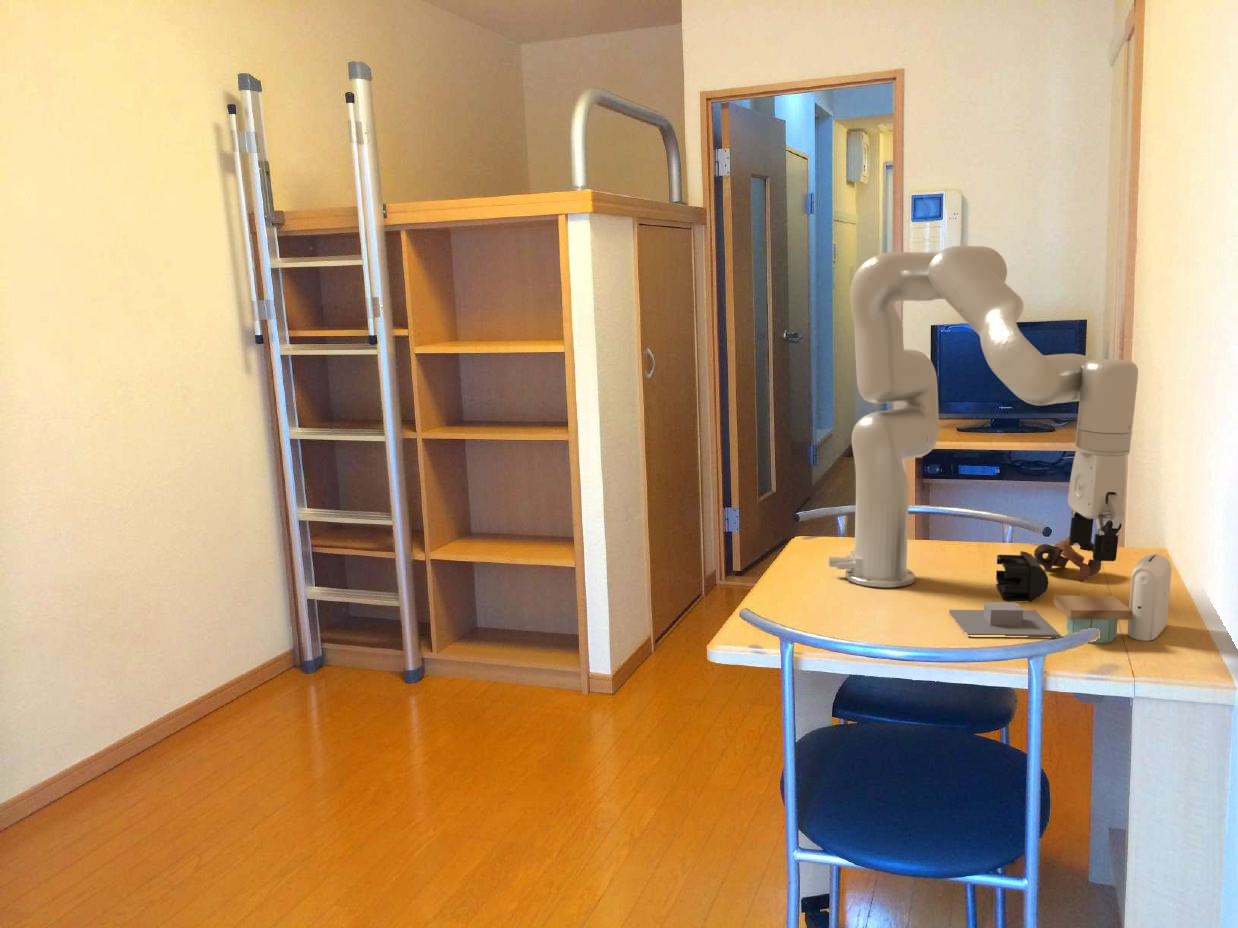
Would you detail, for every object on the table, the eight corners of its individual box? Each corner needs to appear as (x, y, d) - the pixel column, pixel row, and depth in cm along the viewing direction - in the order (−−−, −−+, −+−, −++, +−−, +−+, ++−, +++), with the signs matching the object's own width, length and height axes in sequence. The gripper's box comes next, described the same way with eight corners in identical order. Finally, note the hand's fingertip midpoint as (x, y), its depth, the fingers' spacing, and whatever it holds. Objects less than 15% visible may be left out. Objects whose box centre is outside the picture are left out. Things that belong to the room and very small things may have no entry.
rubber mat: (967, 637, 159) (968, 617, 158) (949, 612, 170) (949, 594, 170) (1060, 638, 157) (1061, 618, 157) (1035, 613, 169) (1036, 595, 169)
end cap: (1047, 604, 174) (1049, 566, 173) (1004, 602, 176) (1006, 564, 175) (1036, 587, 184) (1038, 551, 183) (995, 585, 186) (997, 549, 184)
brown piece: (1075, 567, 198) (1097, 536, 193) (1092, 601, 190) (1116, 570, 185) (1018, 555, 196) (1039, 523, 191) (1033, 588, 188) (1056, 556, 184)
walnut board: (1070, 618, 154) (1071, 610, 154) (1053, 603, 161) (1054, 595, 161) (1132, 619, 153) (1132, 610, 153) (1112, 604, 161) (1113, 595, 160)
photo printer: (1154, 643, 155) (1160, 565, 152) (1123, 637, 157) (1129, 560, 155) (1170, 625, 162) (1176, 550, 160) (1140, 620, 165) (1146, 546, 163)
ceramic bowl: (1076, 643, 155) (1078, 618, 154) (1061, 629, 162) (1063, 605, 161) (1121, 644, 155) (1123, 618, 154) (1104, 629, 161) (1106, 605, 160)
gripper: (1057, 431, 162) (1047, 535, 165) (1099, 452, 145) (1087, 567, 148) (1106, 432, 161) (1095, 536, 164) (1153, 453, 144) (1140, 568, 148)
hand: (1091, 551), depth 156 cm, fingers open, 9 cm apart
